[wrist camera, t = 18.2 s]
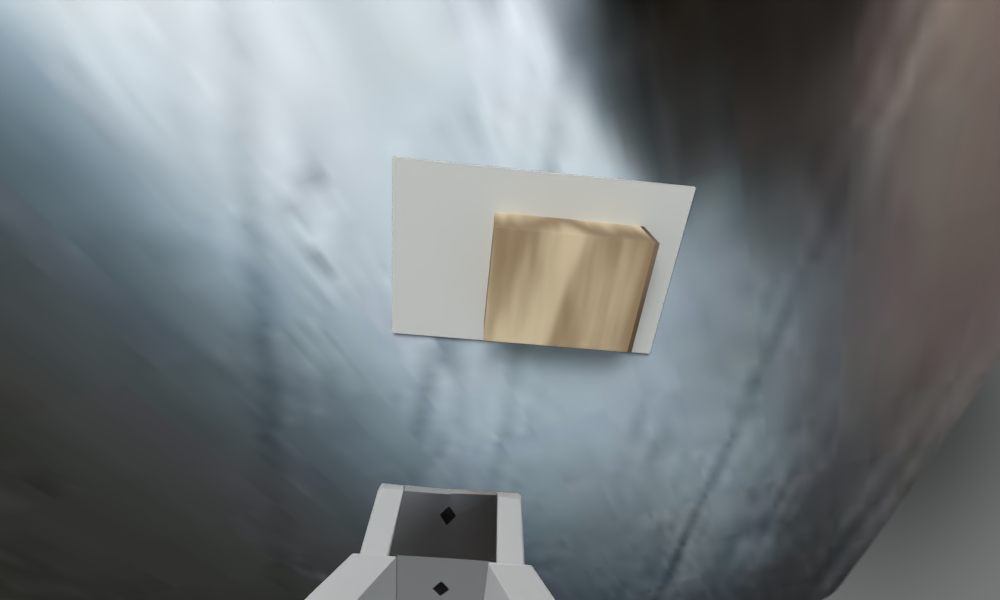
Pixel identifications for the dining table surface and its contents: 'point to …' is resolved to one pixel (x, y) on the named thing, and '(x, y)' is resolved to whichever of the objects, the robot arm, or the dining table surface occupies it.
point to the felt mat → (469, 227)
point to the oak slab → (567, 282)
